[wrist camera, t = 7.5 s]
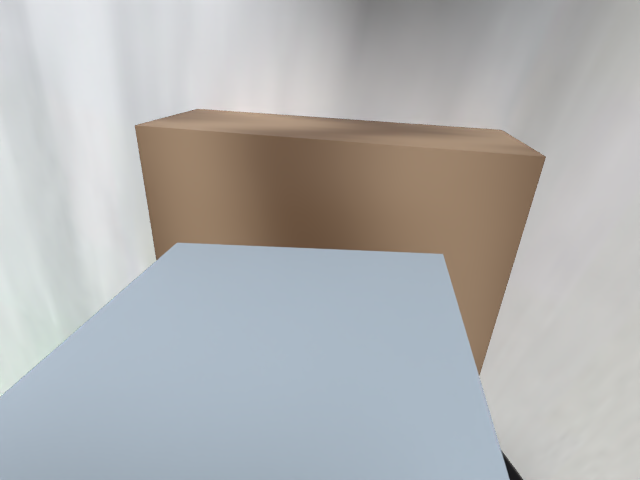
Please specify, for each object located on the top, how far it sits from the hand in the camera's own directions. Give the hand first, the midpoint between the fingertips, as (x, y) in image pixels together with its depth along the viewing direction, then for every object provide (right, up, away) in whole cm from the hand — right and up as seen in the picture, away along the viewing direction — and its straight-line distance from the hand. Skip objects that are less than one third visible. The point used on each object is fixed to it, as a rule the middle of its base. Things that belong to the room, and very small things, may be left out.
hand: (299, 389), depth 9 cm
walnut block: (+1, +3, +6) cm, 7 cm away
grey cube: (0, 0, +1) cm, 1 cm away
